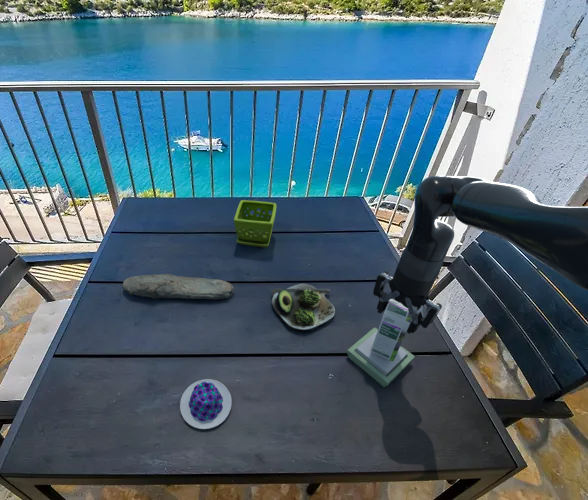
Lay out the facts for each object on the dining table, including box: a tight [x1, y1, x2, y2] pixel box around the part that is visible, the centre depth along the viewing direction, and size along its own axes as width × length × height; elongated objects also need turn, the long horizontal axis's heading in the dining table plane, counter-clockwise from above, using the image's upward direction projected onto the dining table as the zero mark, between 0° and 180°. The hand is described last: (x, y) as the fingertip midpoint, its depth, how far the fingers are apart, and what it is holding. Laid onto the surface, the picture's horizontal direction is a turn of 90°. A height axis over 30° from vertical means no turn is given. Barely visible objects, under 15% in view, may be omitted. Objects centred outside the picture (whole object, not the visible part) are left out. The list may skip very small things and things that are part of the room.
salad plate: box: [269, 283, 336, 332], centre depth 104 cm, size 19×18×5 cm
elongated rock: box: [121, 273, 235, 301], centre depth 109 cm, size 35×5×10 cm
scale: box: [346, 326, 416, 388], centre depth 90 cm, size 12×12×3 cm
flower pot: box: [233, 199, 277, 249], centre depth 128 cm, size 14×14×13 cm
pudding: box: [179, 378, 233, 430], centre depth 80 cm, size 12×12×5 cm
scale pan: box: [355, 331, 408, 376], centre depth 89 cm, size 9×9×2 cm
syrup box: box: [370, 298, 415, 361], centre depth 83 cm, size 6×6×14 cm
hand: (395, 321), depth 81 cm, fingers closed on syrup box, 7 cm apart
